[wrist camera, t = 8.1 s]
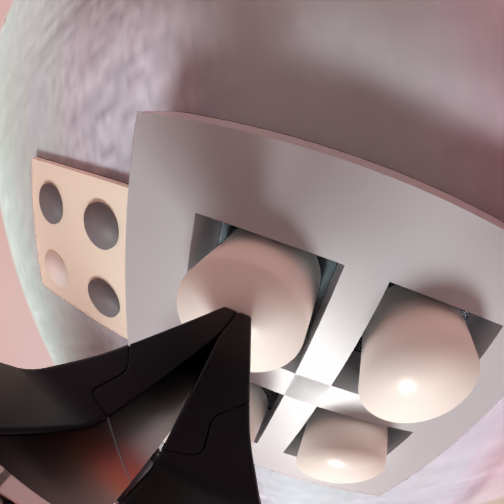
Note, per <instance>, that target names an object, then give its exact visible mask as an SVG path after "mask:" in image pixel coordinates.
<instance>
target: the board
mask: <svg viewBox="0 0 504 504" xmlns="http://www.w3.org/2000/svg"><path fill="white" fill-rule="evenodd" d="M222 222H224V223H227V224H230V225H233V226H236V227H239V228H242V229H244V230H247V231H250V232H253V233H256V234H259V235H262V236H264V237H267V238H270V239H273V240H276V241H279V242H281V243H284V244H287V245H290V246H293V247H296V248H298V249H301V250H304V251H307V252H310V253H312V254H315V255H318V256H321V257H323V258H326V259H329V260H332V261H334V262H337V263H338V264H337V266H336V269H335V271H334V274H333V276H332V279H331V281H330V284H329V286H328V289H327V291H326V294H325V296H324V298H323V301H322V303H321V305H320V308H319V310H318V312H317V315H316V317H315V319H314V321H313V324H312V326H311V328H310V330H309V333H308V334H306V336H305V339H304V342H303V345H302V348H301V349H300V351H299V353H298V354H297V355H296V357H295V358H294V359H293V360H291V361H290V362H289V363H288V364H286V365H284V366H283V367H280V368H278V369H275V370H272V371H267V372H250V382H251V383H254V384H256V385H259V386H261V387H264V388H267V389H269V390H272V391H274V392H277V393H279V395H278V397H277V399H276V401H275V403H274V405H273V407H272V409H271V410H270V409H267V411H266V414H265V416H264V419H263V421H262V423H261V426H260V428H259V431H258V433H257V435H256V438H255V440H254V442H253V445H252V454H253V461H254V465H257V466H259V467H262V468H265V469H268V470H271V471H274V472H277V473H280V474H283V475H287V476H290V477H293V478H297V479H300V480H304V481H308V482H311V483H315V484H319V485H323V486H328V487H332V488H336V489H341V490H346V491H351V492H356V493H362V494H368V495H374V496H380V495H382V494H384V493H385V492H387V491H389V490H390V489H392V488H394V487H395V486H397V485H398V484H400V483H401V482H403V481H404V480H406V479H407V478H409V477H410V476H412V475H413V474H415V473H416V472H418V471H419V470H420V469H422V468H423V467H425V466H426V465H427V464H429V463H430V462H431V461H433V460H434V459H435V458H437V457H438V456H439V455H440V454H442V453H443V452H444V451H445V450H447V449H448V448H449V447H450V446H451V445H453V444H454V443H455V442H456V441H457V440H459V439H460V438H461V437H462V436H463V435H464V434H465V433H466V432H468V431H469V430H470V429H471V428H472V427H473V426H474V425H475V424H476V423H477V422H478V421H479V420H480V419H481V418H482V417H483V416H484V415H485V414H486V413H487V412H488V411H489V410H490V409H491V408H492V407H493V406H494V405H495V404H496V403H497V402H498V401H499V400H500V399H501V398H502V397H503V396H504V222H502V221H500V220H498V219H497V218H495V217H493V216H491V215H489V214H487V213H485V212H483V211H482V210H480V209H478V208H476V207H474V206H472V205H470V204H468V203H466V202H464V201H462V200H460V199H458V198H456V197H453V196H451V195H449V194H447V193H445V192H443V191H441V190H438V189H436V188H434V187H432V186H429V185H427V184H425V183H423V182H420V181H418V180H416V179H413V178H411V177H408V176H406V175H403V174H401V173H399V172H396V171H393V170H391V169H388V168H386V167H383V166H381V165H378V164H375V163H372V162H370V161H367V160H364V159H361V158H359V157H356V156H353V155H350V154H347V153H344V152H341V151H338V150H335V149H332V148H329V147H325V146H322V145H319V144H316V143H312V142H309V141H306V140H302V139H299V138H295V137H292V136H288V135H284V134H281V133H277V132H273V131H269V130H265V129H261V128H257V127H253V126H249V125H244V124H240V123H236V122H231V121H226V120H221V119H217V118H212V117H206V116H201V115H196V114H190V113H184V112H178V111H137V117H136V124H135V131H134V139H133V147H132V155H131V165H130V175H129V186H128V200H127V217H126V245H125V292H126V319H127V336H128V345H129V347H130V344H132V343H134V342H137V341H140V340H142V339H145V338H147V337H150V336H153V335H155V334H158V333H160V332H163V331H165V330H168V329H171V328H173V327H176V326H178V325H181V321H180V318H179V315H178V311H177V303H176V302H177V291H178V288H179V285H180V282H181V281H182V279H183V277H184V276H185V275H186V273H187V272H188V271H189V270H190V269H192V268H193V267H194V266H195V265H196V264H197V263H198V262H200V261H201V260H202V259H203V258H204V257H205V256H206V255H208V254H209V253H210V252H211V251H212V250H213V249H215V248H216V247H217V244H218V239H219V233H220V228H221V223H222ZM389 282H391V283H394V284H397V285H399V286H402V287H405V288H407V289H410V290H413V291H415V292H418V293H421V294H423V295H426V296H428V297H431V298H434V299H436V300H439V301H441V302H444V303H447V304H449V305H452V306H454V307H457V308H459V309H462V310H465V311H467V312H470V314H469V315H468V317H467V319H466V320H465V322H466V325H467V327H468V330H469V332H470V335H471V338H472V340H473V343H474V346H475V348H476V351H477V354H478V357H479V361H480V373H479V377H478V380H477V382H476V384H475V387H474V388H473V390H472V391H471V393H470V394H469V395H468V396H467V397H466V398H465V399H464V400H463V401H462V402H461V403H460V404H459V405H458V406H456V407H455V408H453V409H452V410H450V411H449V412H447V413H445V414H443V415H441V416H439V417H436V418H433V419H430V420H427V421H422V422H416V423H395V422H390V421H386V420H383V419H381V418H378V417H376V416H375V415H373V414H372V413H370V412H369V411H368V410H367V409H366V408H365V407H364V405H363V404H362V402H361V400H360V398H359V393H358V385H359V375H360V363H361V353H360V352H357V351H354V348H355V346H356V344H357V343H358V341H359V339H360V337H361V336H362V334H363V332H364V330H365V329H366V327H367V325H368V323H369V321H370V319H371V318H372V316H373V314H374V312H375V310H376V308H377V306H378V304H379V302H380V300H381V299H382V297H383V295H384V293H385V291H386V289H387V287H388V285H389ZM316 407H320V408H324V409H327V410H330V411H333V412H336V413H340V414H343V415H347V416H350V417H354V418H357V419H361V420H364V421H368V422H372V423H376V424H380V425H384V426H388V443H387V456H386V466H385V469H384V470H383V471H382V473H380V474H379V475H378V476H376V477H374V478H372V479H369V480H366V481H362V482H357V483H345V484H342V483H330V482H325V481H321V480H317V479H314V478H312V477H310V476H308V475H306V474H304V473H303V472H302V471H301V470H300V469H299V468H298V467H297V465H296V458H297V454H298V451H299V448H300V445H301V441H302V438H303V434H304V431H305V428H306V424H307V420H308V419H309V417H310V416H311V415H312V413H313V412H314V410H315V409H316Z"/></svg>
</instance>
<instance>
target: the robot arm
mask: <svg viewBox="0 0 504 504" xmlns="http://www.w3.org/2000/svg"><path fill="white" fill-rule="evenodd" d="M251 322H252V319H251V317H250V316H248V315H245V314H243V313H237V311H235V310H233V309H230V308H228V307H222V308H220V309H217V310H215V311H213V312H210V313H208V314H205V315H203V316H200V317H198V318H195V319H193V320H190V321H188V322H186V323H183V324H181V325H178V326H176V327H173V328H171V329H168V330H165V331H163V332H160V333H158V334H155V335H153V336H150V337H147V338H145V339H142V340H140V341H137V342H134V343H132V344H130V347H129V345H126V346H124V347H121V348H118V349H115V350H113V351H110V352H107V353H104V354H101V355H97V356H93V357H90V358H86V359H82V360H78V361H74V362H69V363H65V364H60V365H56V366H52V367H47V368H42V369H21V368H16V367H13V366H10V365H7V364H3V363H0V504H113V503H115V504H261V501H260V496H259V491H258V485H257V479H256V473H255V467H254V461H253V454H252V447H251V437H250V404H249V403H250V369H251ZM170 431H171V432H170ZM169 433H170V434H169ZM168 434H169V436H168V438H167V439H166V441H165V443H164V445H163V447H162V451H160V453H159V452H158V451H157V448H158V447H159V446H160V444H161V443H162V442H163V441H164V439H165V438H166V437H167V435H168Z"/></svg>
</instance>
